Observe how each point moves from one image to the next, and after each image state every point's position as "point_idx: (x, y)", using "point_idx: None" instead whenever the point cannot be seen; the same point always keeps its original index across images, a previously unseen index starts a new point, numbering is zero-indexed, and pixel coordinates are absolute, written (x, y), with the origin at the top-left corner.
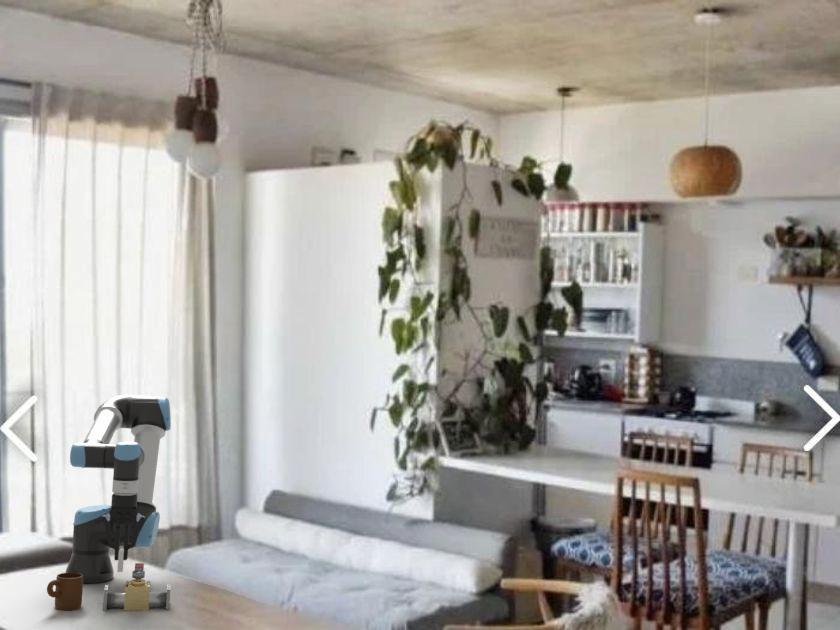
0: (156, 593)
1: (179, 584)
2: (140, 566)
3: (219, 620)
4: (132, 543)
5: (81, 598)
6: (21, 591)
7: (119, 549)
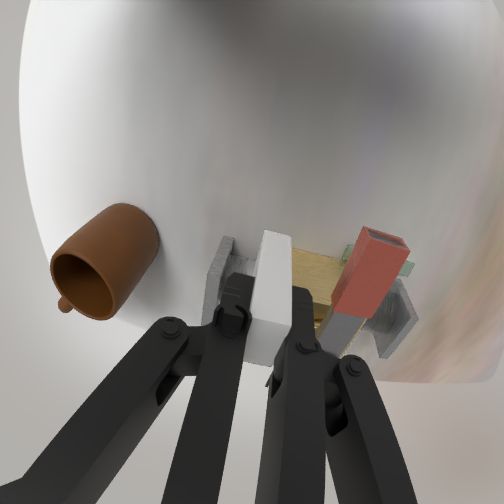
0: (362, 327)
1: (498, 90)
2: (364, 305)
3: (411, 376)
4: (328, 415)
5: (149, 262)
6: (36, 71)
7: (246, 342)
